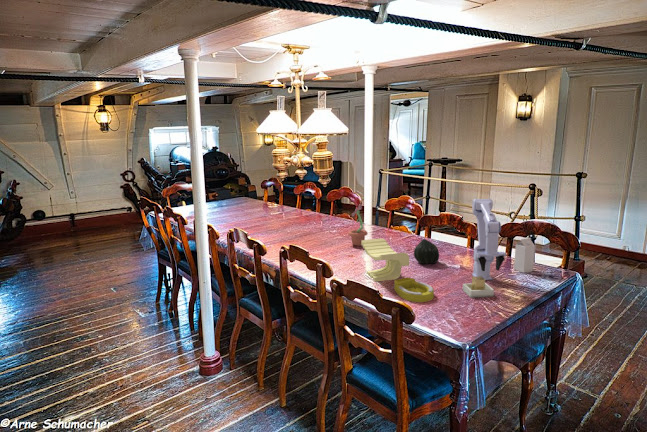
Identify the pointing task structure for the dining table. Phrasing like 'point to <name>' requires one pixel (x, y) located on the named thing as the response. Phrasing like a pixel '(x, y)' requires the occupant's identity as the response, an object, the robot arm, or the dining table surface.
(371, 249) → the slatted curved stool
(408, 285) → the ashtray
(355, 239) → the decorative flower
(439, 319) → the dining table surface
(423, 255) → the squash
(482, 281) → the tea tin
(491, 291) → the tote
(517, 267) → the milk carton
